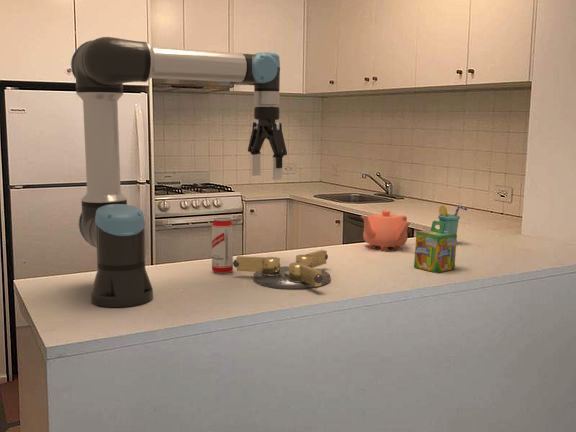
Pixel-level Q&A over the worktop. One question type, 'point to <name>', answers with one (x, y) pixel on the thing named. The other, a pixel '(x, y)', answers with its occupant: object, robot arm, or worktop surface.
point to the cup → (449, 219)
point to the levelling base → (286, 280)
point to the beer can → (222, 245)
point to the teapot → (385, 230)
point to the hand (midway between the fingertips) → (266, 177)
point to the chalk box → (435, 249)
